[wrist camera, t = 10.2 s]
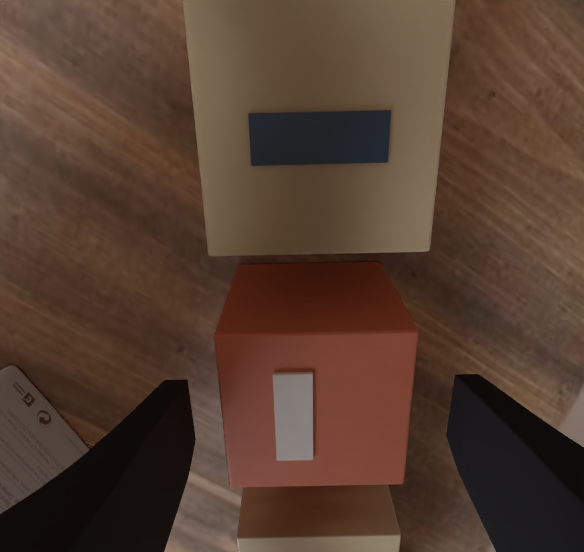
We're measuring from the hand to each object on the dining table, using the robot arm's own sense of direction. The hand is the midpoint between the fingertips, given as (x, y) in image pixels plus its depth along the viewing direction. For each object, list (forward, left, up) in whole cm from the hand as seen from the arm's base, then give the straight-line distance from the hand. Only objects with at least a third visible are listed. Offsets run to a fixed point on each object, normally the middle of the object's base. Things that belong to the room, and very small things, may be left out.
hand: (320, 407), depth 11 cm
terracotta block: (0, 0, -5) cm, 5 cm away
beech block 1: (0, -7, -5) cm, 8 cm away
